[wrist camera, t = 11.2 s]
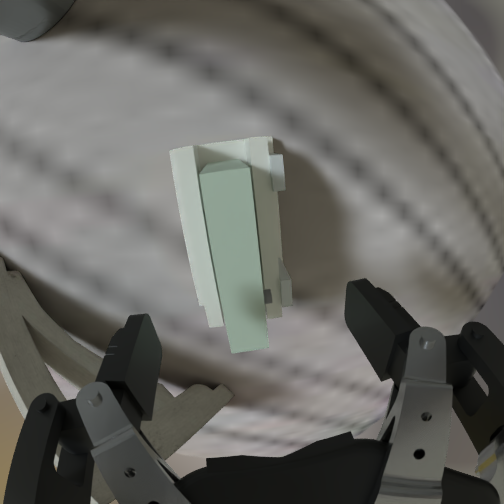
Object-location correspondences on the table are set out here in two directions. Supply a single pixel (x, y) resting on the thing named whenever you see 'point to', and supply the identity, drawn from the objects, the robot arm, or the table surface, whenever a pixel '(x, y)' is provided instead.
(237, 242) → the tapered block
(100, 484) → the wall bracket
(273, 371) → the table surface
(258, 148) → the rail
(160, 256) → the table surface
